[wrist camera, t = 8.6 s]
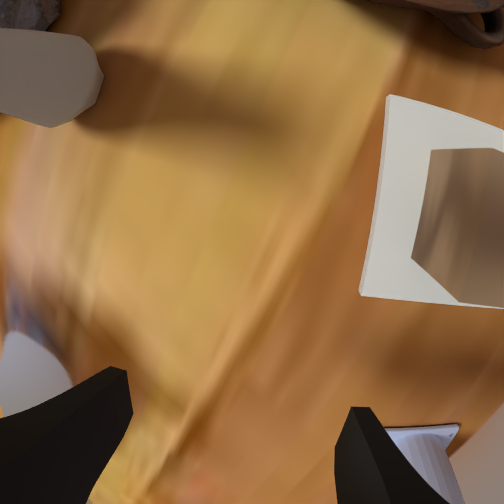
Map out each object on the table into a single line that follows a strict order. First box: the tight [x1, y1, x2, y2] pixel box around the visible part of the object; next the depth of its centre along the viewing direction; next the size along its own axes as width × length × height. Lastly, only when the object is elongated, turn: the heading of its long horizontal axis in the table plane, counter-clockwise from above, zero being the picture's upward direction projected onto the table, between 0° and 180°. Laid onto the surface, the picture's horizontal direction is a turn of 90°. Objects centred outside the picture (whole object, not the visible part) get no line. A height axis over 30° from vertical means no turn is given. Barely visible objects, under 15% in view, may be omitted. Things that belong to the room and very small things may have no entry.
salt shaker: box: [0, 28, 105, 128], centre depth 10 cm, size 6×6×13 cm
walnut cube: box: [411, 148, 504, 308], centre depth 12 cm, size 6×6×6 cm
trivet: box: [359, 94, 504, 309], centre depth 15 cm, size 11×11×1 cm
